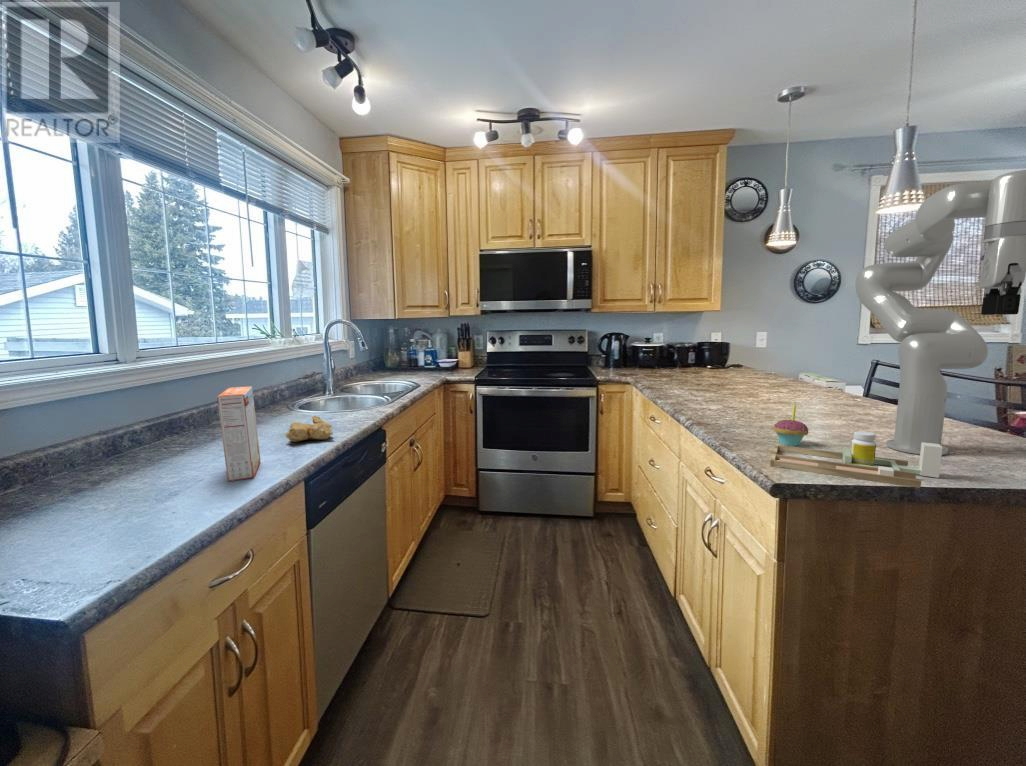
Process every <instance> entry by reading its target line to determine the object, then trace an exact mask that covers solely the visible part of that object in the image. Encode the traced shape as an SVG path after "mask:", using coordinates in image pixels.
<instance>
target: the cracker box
mask: <svg viewBox="0 0 1026 766" xmlns="http://www.w3.org/2000/svg"><path fill="white" fill-rule="evenodd" d="M216 399H217V407H218V414H219V415H218V416H219V421H220V431H221V437H222V438H221V440H222V446H223V447H222V448H223V452H224V453H223V454H224V462H225V470H226V478H227V482H235V481H241V480H246V479H247V480H248V479H254V478H255V477H256V473H257V471H258V468H259V466H260V464H261V453H260V444H259V436H258V426H257V417H256V410H255V408H256V406H255V400H254V390H253V386H232V387H229V388H228V387H227V388H226V389H225V390H224V391H223V392H221V393H220V394H219V395H217V397H216Z"/></svg>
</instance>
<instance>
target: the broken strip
mask: <svg viewBox="0 0 1026 766" xmlns="http://www.w3.org/2000/svg"><path fill="white" fill-rule="evenodd" d="M780 461H784V462H791V463H798V464H806V465H813V466H818V463H814V462H806V461H799V460H791V459H784V458H780ZM877 467H878V471H873V470H866V469H858V468H851V467H843V466H836V469H842V470H849V471H857V472H864V473H871V474H878V475H886V476H894V470H893V468H890V466H884V465H881V466H880V465H878V466H877Z"/></svg>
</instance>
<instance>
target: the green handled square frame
mask: <svg viewBox="0 0 1026 766" xmlns="http://www.w3.org/2000/svg"><path fill="white" fill-rule="evenodd" d="M941 445H942V444H941ZM941 445H940V444H933V443H924V442H922V443H921V452H920V454H919V461H918V466H917V467H916V466H909V465H908V466H902V465H897V464H896V462H895V461H894V460H886V459H878V458H875V462H874V466H870V465H862V464H854V463H851V460H852V456H851V448H849V447H843V448H842V453H843V458H842V459H841V460H842V463H845V464H853V465H861V466H868V467H876V468H878V466H877V465H879V466H880V465H881V466H886V467H890V468H893V470H899V471H906V472H914V473H916V475H918V476H919V475H920V476H924V477H931V478H940V470H941V464H942V463H941V462H942V456H943V455H942V448H943V447H942V446H943V445H942V446H941Z"/></svg>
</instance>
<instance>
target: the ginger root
mask: <svg viewBox="0 0 1026 766" xmlns="http://www.w3.org/2000/svg"><path fill="white" fill-rule="evenodd" d="M289 427H290V428H289V429H288V431H287V432H285V438H287V439H288V440H289V441H290V442H293V443H298V442H301V441H305V440H319V441H321V440H322V441H323V440H328V439H329V438H330V436H332V435H333V434H334V433H333V426H332V424H330V423H328V422H327V421H324V420H323V419H322V418H320V416H316V415H313V416H312V424H311V423H302V422H298V421H297V422H295V421H294V422H291V424H290V426H289Z"/></svg>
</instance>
